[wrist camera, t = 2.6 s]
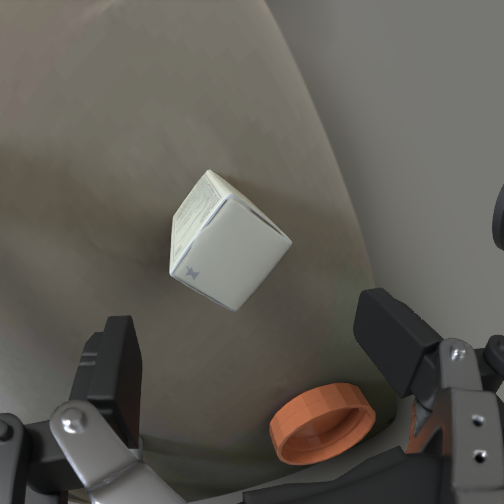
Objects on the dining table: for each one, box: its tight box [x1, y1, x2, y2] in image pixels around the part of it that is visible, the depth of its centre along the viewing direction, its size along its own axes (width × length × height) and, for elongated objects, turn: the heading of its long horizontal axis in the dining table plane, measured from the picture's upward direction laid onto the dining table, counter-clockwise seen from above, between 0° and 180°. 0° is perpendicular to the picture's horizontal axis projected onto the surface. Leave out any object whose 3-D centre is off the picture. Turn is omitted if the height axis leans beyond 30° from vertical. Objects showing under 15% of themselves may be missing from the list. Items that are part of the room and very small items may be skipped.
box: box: [170, 170, 292, 312], centre depth 20 cm, size 5×4×11 cm
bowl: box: [269, 383, 375, 465], centre depth 37 cm, size 14×14×5 cm
